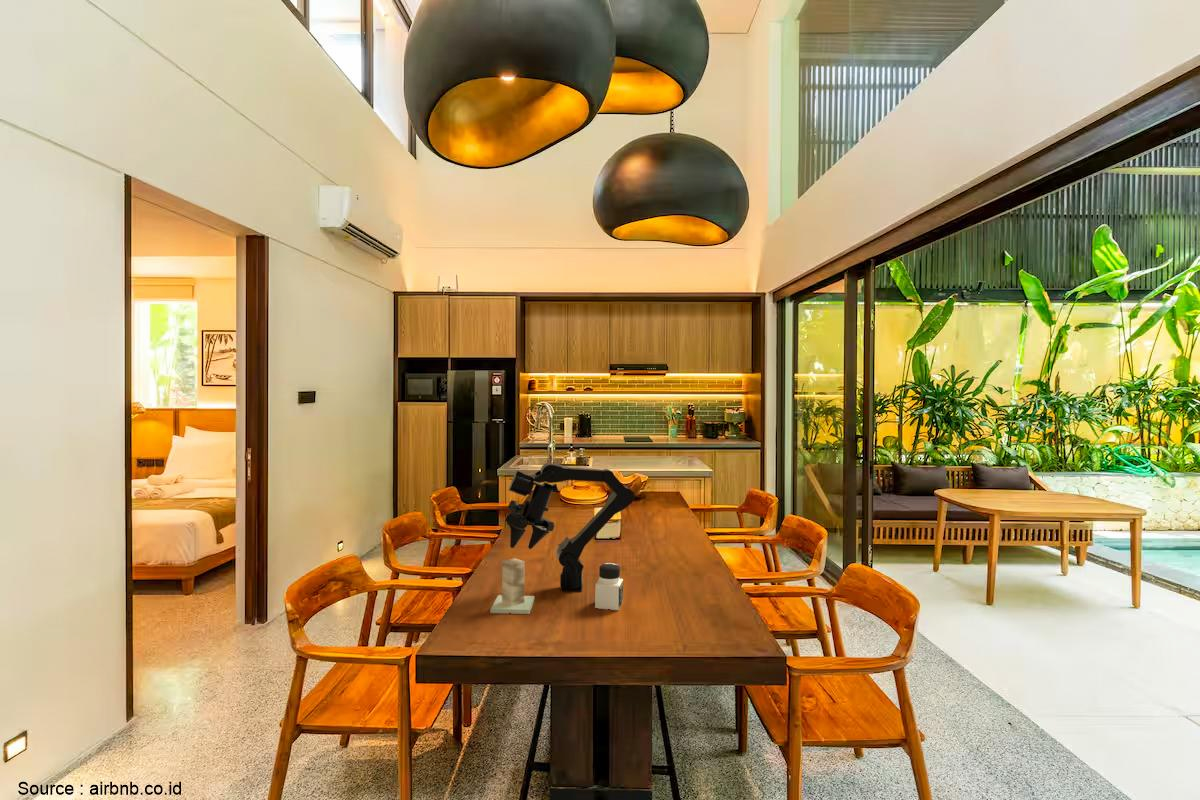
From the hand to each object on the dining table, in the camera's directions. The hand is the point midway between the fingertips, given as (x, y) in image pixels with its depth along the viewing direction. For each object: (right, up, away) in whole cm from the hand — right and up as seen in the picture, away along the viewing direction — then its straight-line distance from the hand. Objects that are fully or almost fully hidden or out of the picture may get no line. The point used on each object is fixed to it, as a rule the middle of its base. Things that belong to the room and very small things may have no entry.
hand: (520, 548), depth 181 cm
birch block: (0, -13, -13) cm, 18 cm away
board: (0, -14, -13) cm, 19 cm away
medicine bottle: (+28, -14, -11) cm, 33 cm away
